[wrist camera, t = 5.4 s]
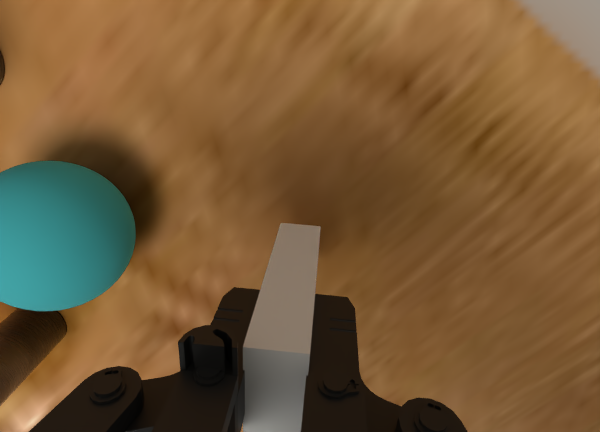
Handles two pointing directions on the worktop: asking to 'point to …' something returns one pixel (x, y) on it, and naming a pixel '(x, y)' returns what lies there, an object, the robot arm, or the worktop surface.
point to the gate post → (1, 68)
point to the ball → (60, 235)
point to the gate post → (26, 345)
